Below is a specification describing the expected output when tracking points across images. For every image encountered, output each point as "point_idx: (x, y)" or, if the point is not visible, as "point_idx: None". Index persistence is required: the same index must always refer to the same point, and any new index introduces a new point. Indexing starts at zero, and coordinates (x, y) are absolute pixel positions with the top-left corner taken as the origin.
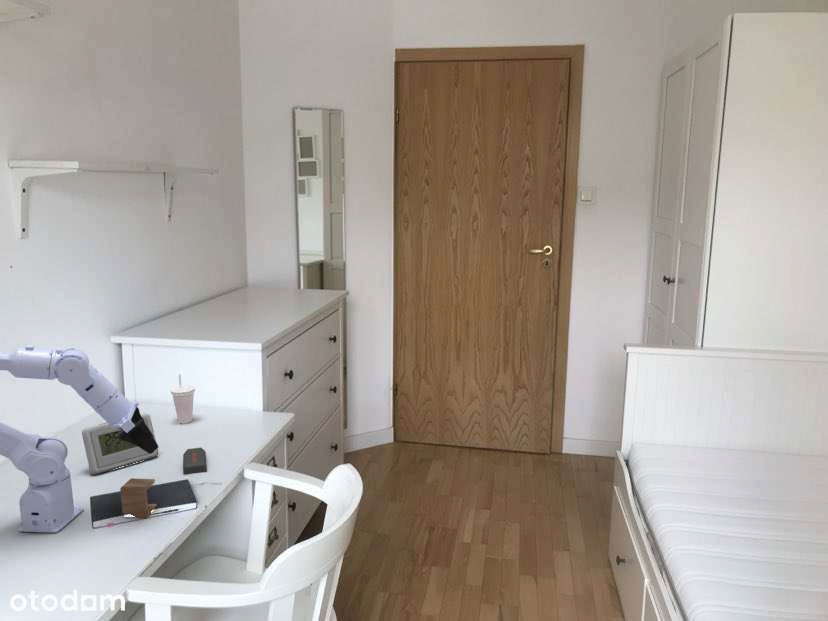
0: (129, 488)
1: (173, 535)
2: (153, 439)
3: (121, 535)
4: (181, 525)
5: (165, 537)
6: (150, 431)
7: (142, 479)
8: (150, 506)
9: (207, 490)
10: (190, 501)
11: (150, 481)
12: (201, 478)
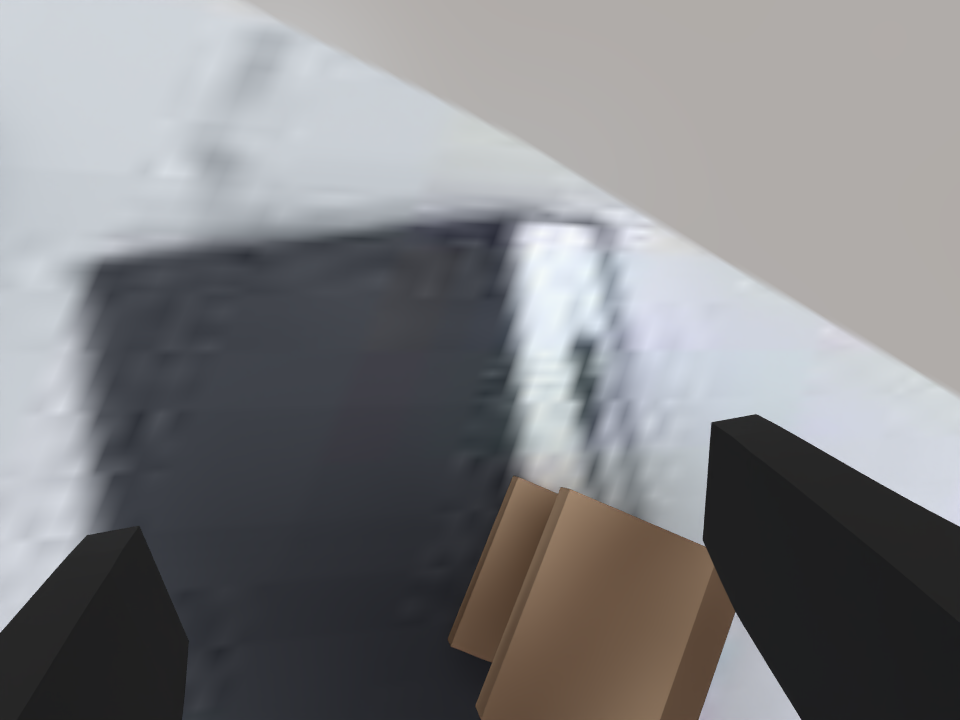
0: (703, 702)
1: (900, 365)
2: (883, 489)
3: None
4: (799, 320)
5: (910, 408)
6: (89, 601)
7: (544, 603)
8: (538, 519)
9: (354, 139)
10: (491, 258)
11: (617, 523)
12: (112, 164)
